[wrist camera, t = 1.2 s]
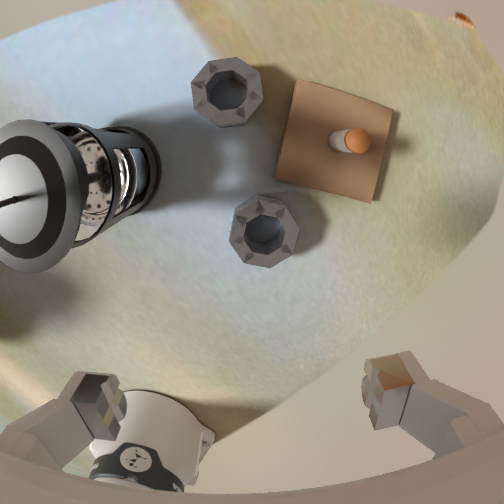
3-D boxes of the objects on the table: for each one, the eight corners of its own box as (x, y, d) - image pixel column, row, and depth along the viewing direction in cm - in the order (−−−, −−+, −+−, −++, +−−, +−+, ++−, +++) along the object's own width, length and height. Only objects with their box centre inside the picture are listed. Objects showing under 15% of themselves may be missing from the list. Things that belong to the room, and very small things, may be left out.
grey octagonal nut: (283, 259, 34) (288, 271, 30) (226, 248, 33) (225, 259, 30) (297, 203, 32) (304, 210, 29) (239, 190, 31) (238, 195, 28)
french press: (185, 177, 31) (64, 244, 9) (124, 238, 32) (-14, 369, 11) (112, 98, 28) (-63, 53, 6) (57, 163, 29) (-117, 204, 8)
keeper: (365, 201, 32) (397, 216, 25) (273, 177, 31) (282, 186, 24) (386, 111, 29) (422, 104, 22) (295, 82, 28) (311, 63, 21)
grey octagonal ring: (263, 121, 29) (266, 118, 26) (201, 130, 29) (196, 127, 26) (255, 64, 27) (257, 54, 24) (194, 73, 27) (188, 64, 24)
